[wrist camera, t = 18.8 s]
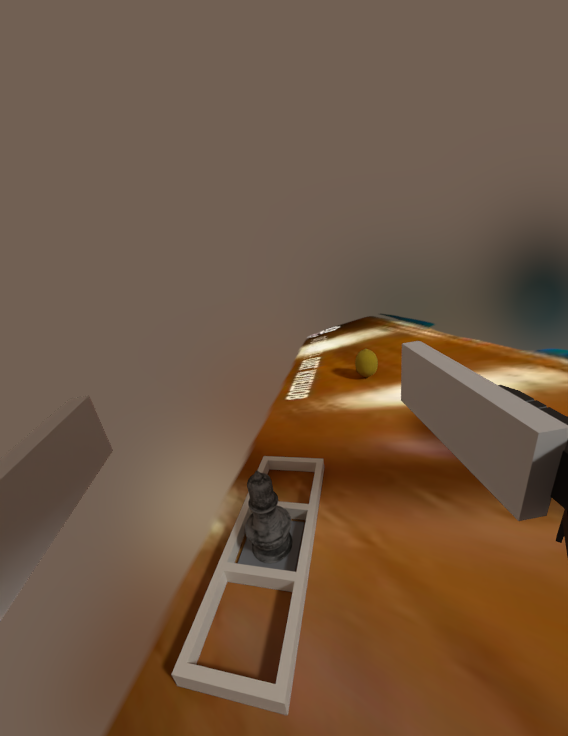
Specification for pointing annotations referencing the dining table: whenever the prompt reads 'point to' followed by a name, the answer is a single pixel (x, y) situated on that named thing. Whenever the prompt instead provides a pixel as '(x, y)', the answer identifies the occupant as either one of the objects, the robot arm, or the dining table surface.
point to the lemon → (366, 363)
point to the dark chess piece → (267, 521)
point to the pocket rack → (261, 576)
